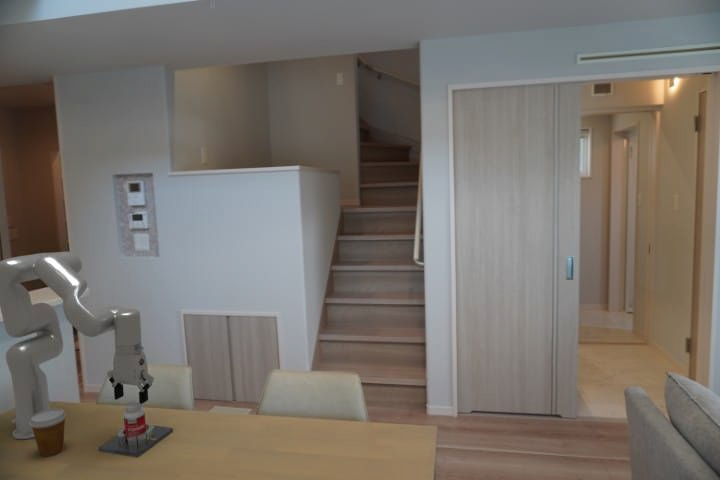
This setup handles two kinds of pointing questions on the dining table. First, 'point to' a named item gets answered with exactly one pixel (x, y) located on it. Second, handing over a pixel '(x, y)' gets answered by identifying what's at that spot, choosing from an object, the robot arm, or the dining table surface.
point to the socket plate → (137, 448)
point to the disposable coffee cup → (49, 431)
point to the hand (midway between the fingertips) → (131, 400)
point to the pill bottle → (134, 419)
